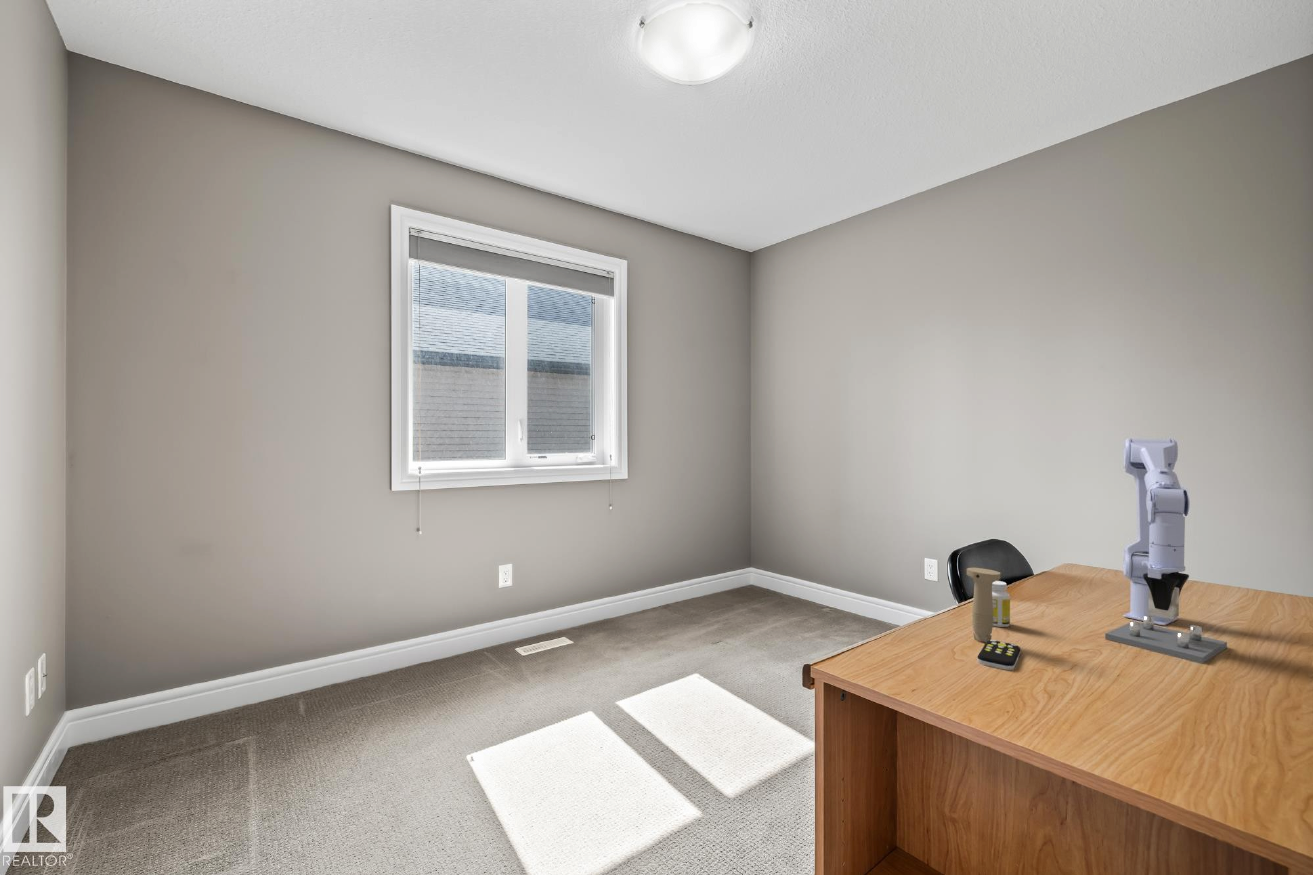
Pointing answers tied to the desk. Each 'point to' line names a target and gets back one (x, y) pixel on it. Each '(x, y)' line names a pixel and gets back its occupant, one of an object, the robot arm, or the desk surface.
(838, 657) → the desk surface
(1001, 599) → the supplement bottle
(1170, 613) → the cream block
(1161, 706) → the desk surface
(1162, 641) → the peg board
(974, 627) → the handle
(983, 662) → the remote control
